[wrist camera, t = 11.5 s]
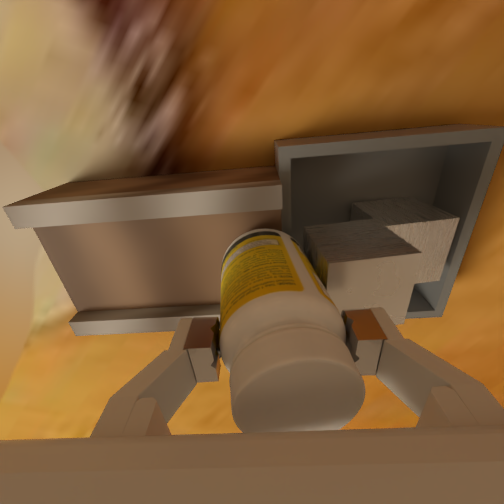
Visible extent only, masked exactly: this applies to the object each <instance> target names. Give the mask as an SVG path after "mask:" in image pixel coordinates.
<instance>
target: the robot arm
mask: <svg viewBox="0 0 504 504" xmlns="http://www.w3.org/2000/svg"><path fill="white" fill-rule="evenodd" d="M341 317H342V319H343V322H344V325H345V329H346V344H345V345H346V346H347V348H348V350H349V351H350V354H351V356H352V358H353V360H354V362H355V364H356V366H357V368H358V370H359V372H360V374H361V375H376V377H377V378H378V379H379V380H380V381H381V382H383V383H384V384H385V385H386V386H387V387H388V388H389V389H390V390H391V391H392V392H393V393H394V394H395V395H396V396H397V397H398V398H399V399H401V400H402V401H403V402H404V403H405V404H406V405H407V406H408V407H409V408H410V409H411V410H412V411H413V412H414V413H415V414H416V415H417V416H418V417H420V418H419V421H418V423H417V426H416V428H385V429H353V430H321V431H288V432H256V433H223V434H190V435H171V433H170V431H169V428H168V426H167V423H168V421H169V420H170V419H171V417H172V416H173V415H174V413H175V412H176V411H177V409H178V408H179V407H180V405H181V404H182V403H183V401H184V400H185V399H186V397H187V396H188V395H189V394H190V392H191V391H192V390H193V388H194V387H195V386H196V384H197V382H212V381H219V374H220V367H221V364H220V358H221V352H220V344H219V340H220V330H219V328H220V321H219V318H218V317H194V318H181V319H180V321H179V323H178V325H177V328H176V331H175V333H174V336H173V339H172V342H171V344H170V347H169V350H166V351H163V352H162V353H161V354H160V355H159V356H158V357H157V358H155V359H154V360H153V361H152V362H151V363H150V364H148V365H147V366H146V367H145V368H144V369H143V370H142V371H140V372H139V373H138V374H137V375H136V376H135V377H134V378H132V379H131V380H130V381H129V382H128V383H127V384H125V385H124V386H123V387H122V388H121V389H120V390H119V391H117V392H116V393H115V394H114V395H113V396H112V397H111V398H110V399H109V401H108V403H107V405H106V407H105V409H104V411H103V413H102V415H101V417H100V419H99V421H98V422H97V424H96V426H95V428H94V430H93V432H92V434H91V436H90V438H58V439H24V440H0V504H504V409H503V407H502V406H501V405H500V404H499V403H498V401H497V400H496V399H495V398H494V397H493V395H492V394H491V393H490V392H489V391H488V389H487V388H486V387H485V386H484V385H483V384H482V383H481V382H479V381H477V380H476V379H474V378H472V377H471V376H469V375H467V374H466V373H464V372H462V371H461V370H459V369H457V368H456V367H454V366H452V365H451V364H449V363H448V362H446V361H444V360H443V359H441V358H439V357H438V356H436V355H434V354H433V353H431V352H429V351H428V350H426V349H424V348H423V347H421V346H419V345H418V344H416V343H414V342H413V341H411V340H410V339H404V338H403V336H402V335H401V333H400V332H399V330H398V329H397V327H396V326H395V324H394V323H393V321H392V320H391V318H390V317H389V315H388V314H387V312H386V311H385V309H384V308H382V307H377V308H364V309H348V310H342V312H341Z"/></svg>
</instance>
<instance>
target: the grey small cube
mask: <svg viewBox="0 0 504 504" xmlns="http://www.w3.org/2000/svg"><path fill="white" fill-rule="evenodd" d="M303 252H304V254H305V255H306V257H307V258H308V260H309V262H310V263H311V265H312V267H313V269H314V270H315V272H316V274H317V275H318V277H319V279H320V280H321V282H322V284H323V286H324V287H325V289H326V291H327V292H328V294H329V296H330V297H331V299H332V301H333V302H334V304H335V306H336V307H337V309H338V311H339V313H340V315H341V312H342V310H348V309H364V308H377V307H382V308H384V309H385V311H386V312H387V314H388V315H389V317H390V318H391V320H392V321H393V323H394V324H395V325H398V324H404V320H405V317H406V313H407V309H408V306H409V302H410V298H411V294H412V291H413V287H414V283H415V280H416V276H417V272H418V269H419V265H420V261H421V257H422V254H423V253H422V252H421V251H419V250H418V249H417V248H415V247H414V246H412V245H411V244H410V243H408V242H407V241H405V240H404V239H402V238H401V237H400V236H398V235H397V234H395V233H394V232H393V231H391V230H390V229H388V228H387V227H386V226H384V225H383V224H381V223H380V222H378V221H377V220H376V219H367V220H358V221H349V222H340V223H331V224H322V225H313V226H304V227H303Z"/></svg>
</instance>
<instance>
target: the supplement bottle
mask: <svg viewBox="0 0 504 504" xmlns="http://www.w3.org/2000/svg"><path fill="white" fill-rule="evenodd" d="M219 344H220V352H221V357H222V360H223V362H224V364H225V366H226V368H227V369H228V371H229V372H230V390H231V406H232V415H233V419H234V421H235V423H236V425H237V426H238V428H239V429H240V430H241V431H242V432H243V433H256V432H288V431H321V430H339V429H340V428H342V427H343V426H345V425H346V424H347V423H348V422H349V421H351V420H352V419H353V417H354V416H355V415H356V414H357V413H358V411H359V410H360V408H361V406H362V404H363V401H364V398H365V385H364V381H363V379H362V376H361V374H360V372H359V370H358V368H357V366H356V364H355V362H354V360H353V358H352V356H351V354H350V351H349V350H348V348H347V346H346V345H345V344H346V329H345V325H344V322H343V319H342V317H341V315H340V313H339V311H338V309H337V307H336V306H335V304H334V302H333V301H332V299H331V297H330V296H329V294H328V292H327V291H326V289H325V287H324V286H323V284H322V282H321V280H320V279H319V277H318V275H317V274H316V272H315V270H314V269H313V267H312V265H311V263H310V262H309V260H308V258H307V257H306V255H305V254H304V252H303V250H302V249H301V247H300V245H299V244H298V243H297V242H296V241H295V240H294V239H293V238H292V237H291V236H289V235H288V234H286V233H284V232H281V231H278V230H274V229H255V230H252V231H249V232H246V233H244V234H242V235H241V236H239V237H238V238H237V239H235V240H234V241H233V242H232V243H231V245H230V246H229V247H228V249H227V250H226V252H225V255H224V257H223V261H222V267H221V303H220V340H219Z"/></svg>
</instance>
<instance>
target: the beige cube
mask: <svg viewBox="0 0 504 504" xmlns="http://www.w3.org/2000/svg"><path fill="white" fill-rule="evenodd" d="M367 219H376V220H377V221H378V222H380V223H381V224H383V225H384V226H386V227H387V228H388V229H390V230H391V231H393V232H394V233H395V234H397V235H398V236H400V237H401V238H402V239H404V240H405V241H407V242H408V243H410V244H411V245H412V246H414V247H415V248H417V249H418V250H419V251H421V252H422V253H423V254H422V257H421V261H420V265H419V269H418V272H417V276H416V280H415V283H414V284H416V283H424V282H433V281H439V280H440V277H441V274H442V271H443V268H444V265H445V262H446V259H447V256H448V253H449V250H450V246H451V243H452V240H453V237H454V234H455V231H456V228H457V225H458V222H459V219H460V218H459V217H457V216H454V215H452V214H450V213H448V212H445V211H443V210H441V209H439V208H436V207H434V206H432V205H430V204H427V203H425V202H423V201H421V200H418V199H416V198H414V197H412V196H411V197H402V198H392V199H383V200H374V201H365V202H356V203H352V209H351V218H350V221H358V220H367Z"/></svg>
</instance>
